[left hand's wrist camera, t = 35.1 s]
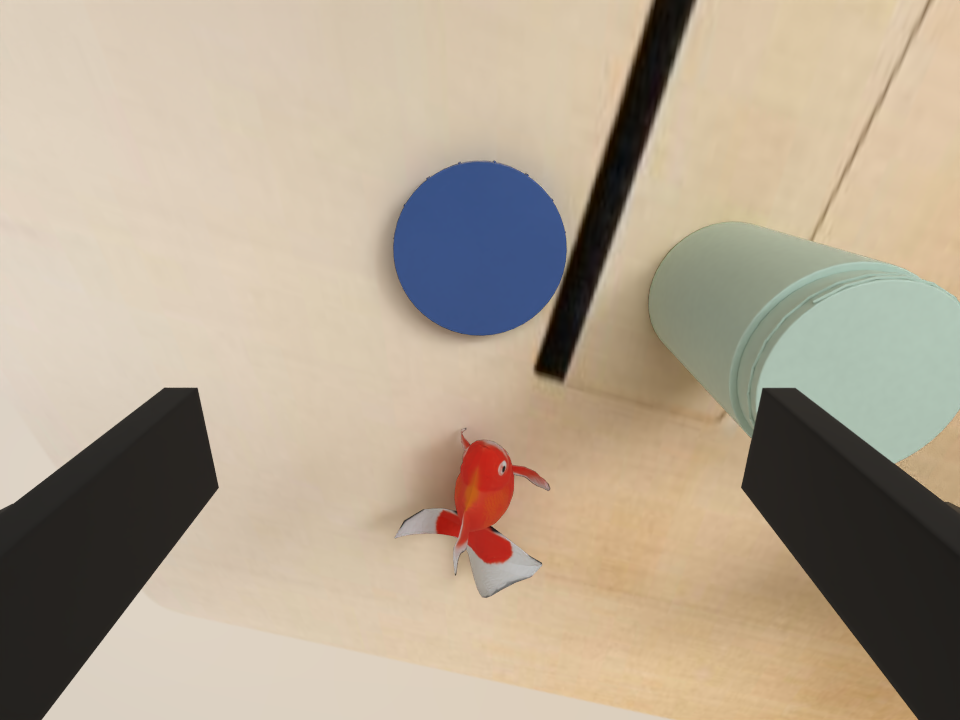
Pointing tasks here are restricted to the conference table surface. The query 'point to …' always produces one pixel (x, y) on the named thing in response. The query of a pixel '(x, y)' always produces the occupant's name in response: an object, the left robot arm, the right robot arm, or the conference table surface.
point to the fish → (481, 517)
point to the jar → (811, 332)
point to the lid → (479, 248)
